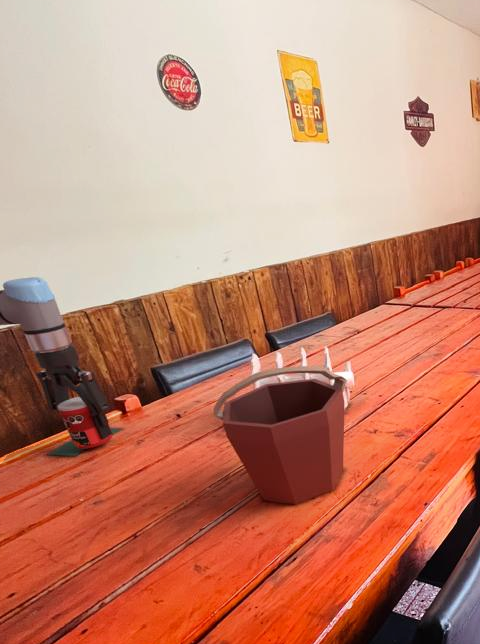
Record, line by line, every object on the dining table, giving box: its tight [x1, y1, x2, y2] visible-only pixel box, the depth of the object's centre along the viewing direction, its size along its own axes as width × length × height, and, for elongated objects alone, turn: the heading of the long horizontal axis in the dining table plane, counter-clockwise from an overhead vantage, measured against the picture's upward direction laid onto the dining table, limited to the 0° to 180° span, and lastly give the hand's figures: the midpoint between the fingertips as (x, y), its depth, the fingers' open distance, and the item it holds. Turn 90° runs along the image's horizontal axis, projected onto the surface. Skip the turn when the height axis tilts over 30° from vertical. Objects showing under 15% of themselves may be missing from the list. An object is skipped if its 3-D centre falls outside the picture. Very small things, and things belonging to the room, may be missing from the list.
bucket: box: [212, 365, 347, 505], centre depth 102 cm, size 24×22×25 cm
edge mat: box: [47, 427, 122, 457], centre depth 130 cm, size 8×14×1 cm, turn 169°
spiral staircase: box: [250, 345, 355, 412], centre depth 135 cm, size 18×18×25 cm
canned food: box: [57, 396, 113, 450], centre depth 125 cm, size 8×8×11 cm
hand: (92, 435), depth 126 cm, fingers closed on canned food, 8 cm apart
